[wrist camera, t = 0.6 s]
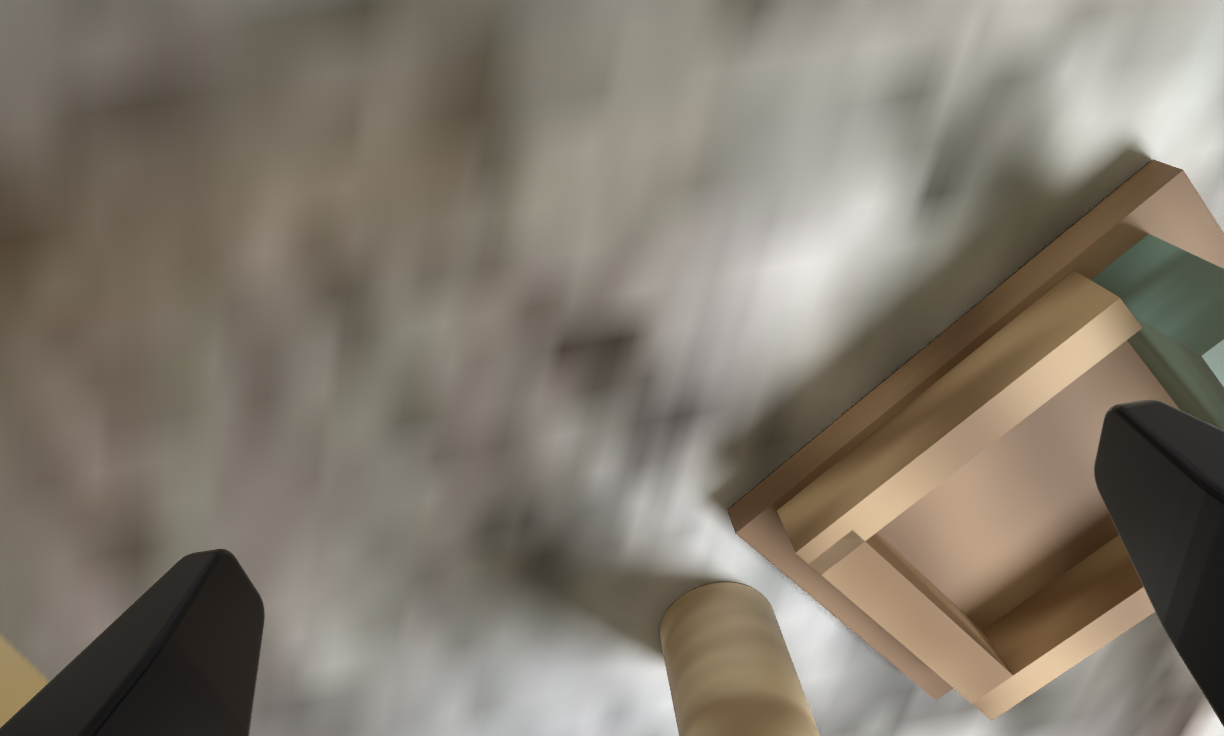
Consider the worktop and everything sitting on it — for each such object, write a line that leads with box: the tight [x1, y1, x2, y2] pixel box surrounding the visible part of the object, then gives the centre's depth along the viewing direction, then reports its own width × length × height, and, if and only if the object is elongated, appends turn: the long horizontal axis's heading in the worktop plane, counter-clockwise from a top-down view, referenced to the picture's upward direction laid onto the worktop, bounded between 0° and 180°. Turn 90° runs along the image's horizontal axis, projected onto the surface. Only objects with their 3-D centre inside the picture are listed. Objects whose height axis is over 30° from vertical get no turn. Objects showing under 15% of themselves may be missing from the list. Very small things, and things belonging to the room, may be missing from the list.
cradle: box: [728, 160, 1224, 720], centre depth 25 cm, size 16×11×6 cm
